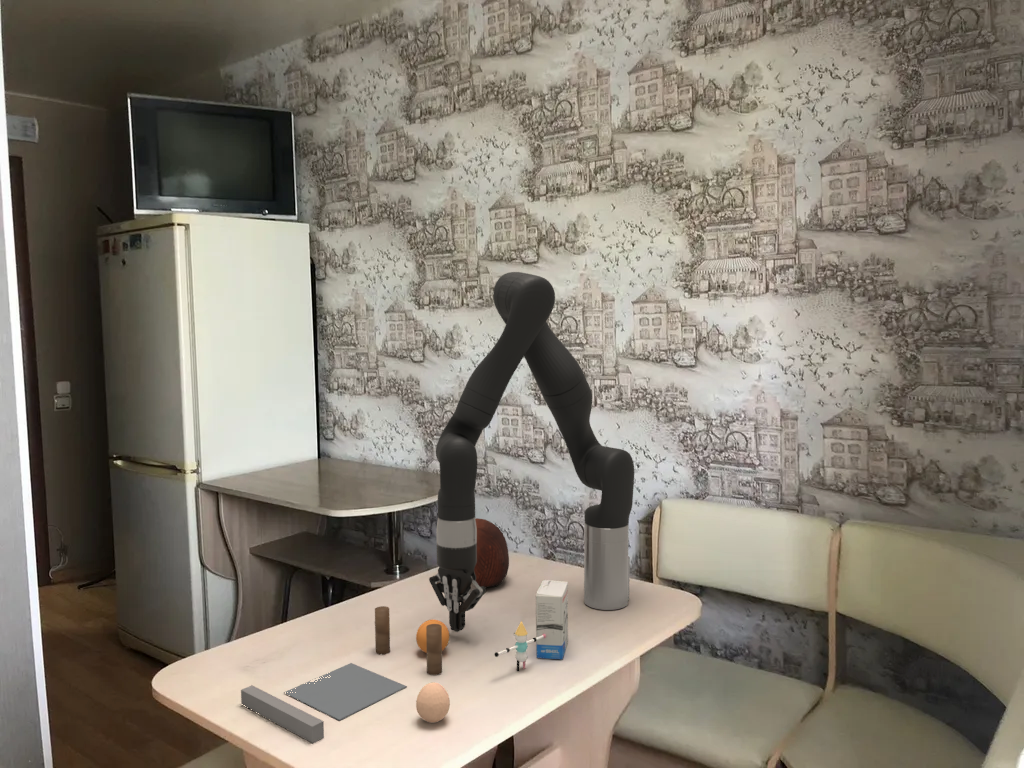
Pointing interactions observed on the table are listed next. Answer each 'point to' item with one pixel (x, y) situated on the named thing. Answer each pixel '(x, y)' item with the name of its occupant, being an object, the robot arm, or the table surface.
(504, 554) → the figurine
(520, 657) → the toy figure
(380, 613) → the post
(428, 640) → the post
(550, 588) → the ink box
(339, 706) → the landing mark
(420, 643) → the ball
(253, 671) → the table surface
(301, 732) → the wall
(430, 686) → the egg
